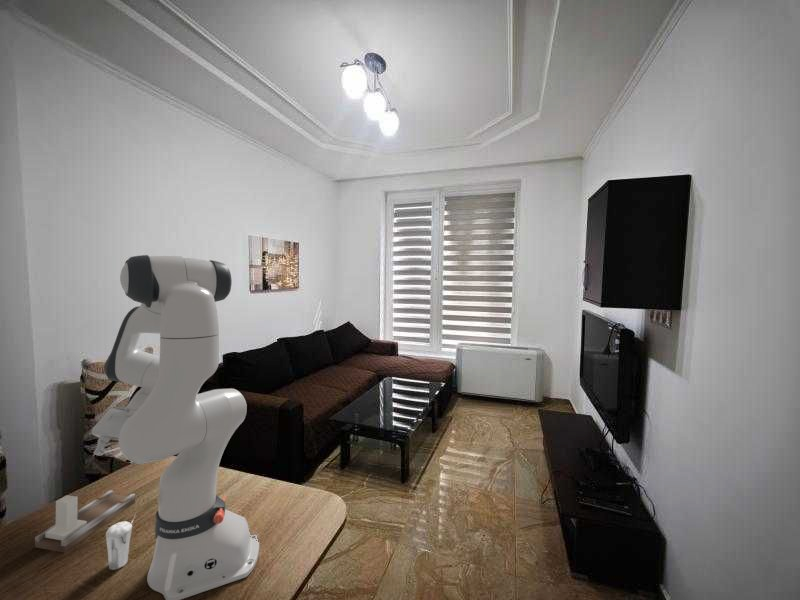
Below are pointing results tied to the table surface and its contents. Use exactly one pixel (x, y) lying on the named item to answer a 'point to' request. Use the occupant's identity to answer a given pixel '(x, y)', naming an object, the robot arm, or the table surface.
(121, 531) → the milkshake
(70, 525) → the fader tab
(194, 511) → the robot arm
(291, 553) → the table surface
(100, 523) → the fader track
